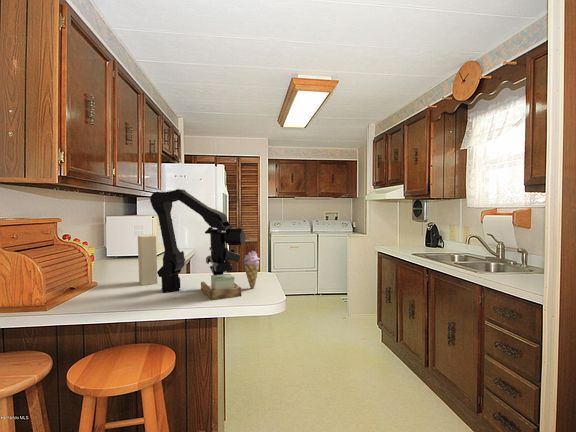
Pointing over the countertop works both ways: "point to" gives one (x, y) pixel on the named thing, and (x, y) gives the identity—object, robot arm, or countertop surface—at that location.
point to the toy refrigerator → (147, 259)
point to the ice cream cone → (251, 267)
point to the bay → (220, 292)
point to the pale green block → (222, 281)
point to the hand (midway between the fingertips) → (219, 284)
